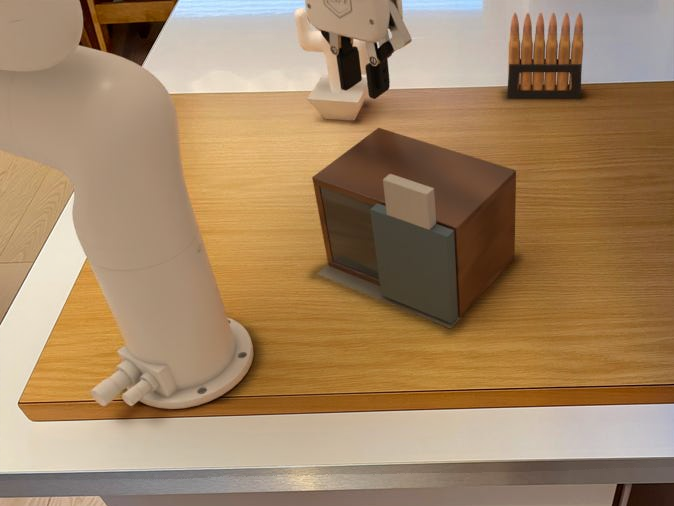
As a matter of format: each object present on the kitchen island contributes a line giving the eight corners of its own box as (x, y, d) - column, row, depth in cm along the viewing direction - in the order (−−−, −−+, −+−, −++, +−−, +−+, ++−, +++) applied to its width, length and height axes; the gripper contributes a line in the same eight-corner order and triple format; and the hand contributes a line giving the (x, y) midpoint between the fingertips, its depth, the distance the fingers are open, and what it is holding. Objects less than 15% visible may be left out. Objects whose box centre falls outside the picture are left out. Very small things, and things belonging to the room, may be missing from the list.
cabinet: (450, 329, 85) (445, 238, 76) (317, 275, 91) (299, 186, 83) (514, 259, 93) (516, 170, 85) (388, 214, 99) (378, 127, 91)
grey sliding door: (451, 324, 85) (445, 200, 74) (381, 295, 88) (365, 173, 77) (458, 317, 85) (452, 194, 75) (387, 289, 89) (372, 167, 78)
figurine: (368, 127, 114) (355, 19, 103) (303, 122, 115) (284, 15, 105) (381, 102, 119) (370, -3, 109) (319, 98, 120) (302, -7, 110)
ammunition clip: (507, 98, 119) (508, 15, 111) (507, 92, 121) (508, 10, 112) (580, 98, 119) (587, 15, 111) (580, 92, 120) (586, 10, 112)
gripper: (256, -86, 82) (289, 86, 95) (390, -59, 76) (405, 121, 89) (304, -107, 87) (329, 61, 100) (434, -83, 81) (443, 92, 94)
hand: (365, 88), depth 94 cm, fingers open, 3 cm apart
